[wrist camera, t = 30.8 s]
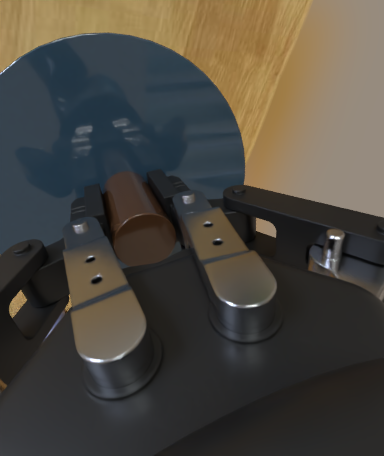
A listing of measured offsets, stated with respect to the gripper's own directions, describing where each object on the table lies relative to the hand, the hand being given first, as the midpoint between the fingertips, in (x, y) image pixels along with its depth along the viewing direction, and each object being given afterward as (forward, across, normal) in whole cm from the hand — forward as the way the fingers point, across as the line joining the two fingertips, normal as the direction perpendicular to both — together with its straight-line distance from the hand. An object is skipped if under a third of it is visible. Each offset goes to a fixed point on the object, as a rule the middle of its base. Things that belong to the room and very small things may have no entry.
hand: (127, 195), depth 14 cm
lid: (+1, 0, 0) cm, 1 cm away
